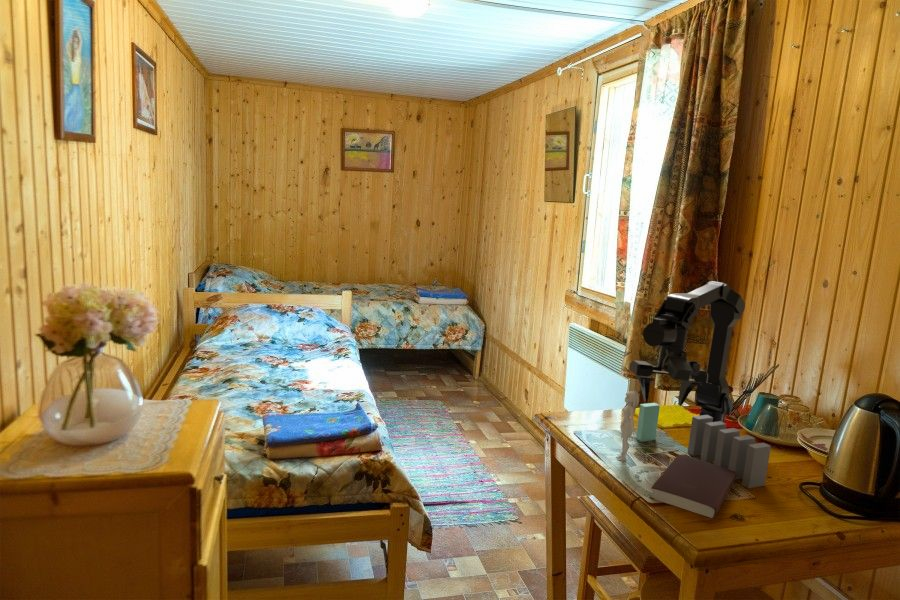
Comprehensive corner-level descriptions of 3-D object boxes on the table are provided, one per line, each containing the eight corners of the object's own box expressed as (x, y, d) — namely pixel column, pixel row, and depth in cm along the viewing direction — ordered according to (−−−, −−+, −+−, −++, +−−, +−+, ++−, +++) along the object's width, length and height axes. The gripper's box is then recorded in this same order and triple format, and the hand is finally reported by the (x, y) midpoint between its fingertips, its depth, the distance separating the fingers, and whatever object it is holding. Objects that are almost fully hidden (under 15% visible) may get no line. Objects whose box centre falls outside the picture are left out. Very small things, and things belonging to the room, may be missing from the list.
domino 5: (757, 481, 149) (763, 442, 147) (764, 485, 147) (771, 446, 146) (741, 484, 147) (748, 444, 146) (748, 488, 146) (755, 448, 144)
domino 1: (702, 450, 166) (707, 414, 164) (707, 453, 164) (713, 417, 162) (687, 452, 164) (692, 416, 162) (693, 455, 162) (698, 419, 160)
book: (735, 484, 148) (737, 470, 148) (714, 522, 131) (717, 506, 130) (675, 466, 156) (677, 453, 156) (648, 500, 139) (650, 484, 138)
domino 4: (742, 473, 153) (748, 435, 151) (749, 476, 152) (755, 438, 150) (727, 475, 152) (733, 437, 150) (733, 479, 150) (739, 440, 148)
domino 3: (728, 465, 157) (734, 427, 156) (734, 468, 156) (740, 431, 154) (713, 467, 156) (718, 429, 154) (719, 471, 154) (725, 433, 152)
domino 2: (715, 457, 162) (720, 421, 160) (721, 460, 160) (726, 424, 158) (700, 459, 160) (705, 423, 158) (705, 463, 158) (711, 426, 156)
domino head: (650, 436, 173) (654, 402, 171) (655, 439, 171) (659, 405, 169) (635, 438, 171) (640, 404, 169) (640, 441, 169) (644, 406, 167)
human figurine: (612, 448, 163) (620, 383, 160) (627, 449, 163) (635, 384, 160) (620, 469, 152) (628, 399, 148) (636, 470, 151) (644, 400, 148)
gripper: (650, 347, 149) (639, 410, 151) (724, 355, 151) (712, 417, 153) (633, 338, 160) (623, 396, 162) (702, 345, 162) (691, 403, 164)
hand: (662, 403), depth 160 cm, fingers open, 9 cm apart
